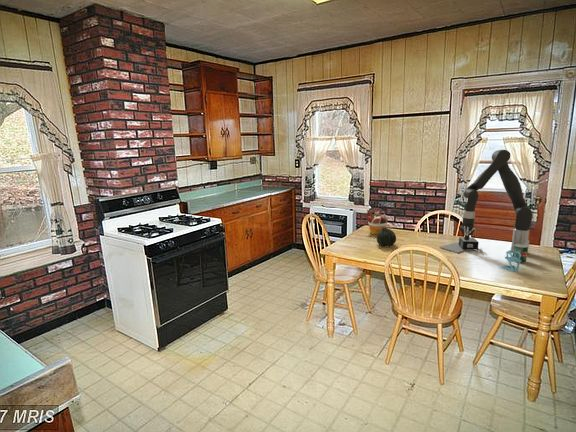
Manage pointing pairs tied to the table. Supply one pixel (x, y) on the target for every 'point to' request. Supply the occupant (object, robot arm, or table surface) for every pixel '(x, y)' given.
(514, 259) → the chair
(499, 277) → the table surface
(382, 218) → the bucket of meat
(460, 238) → the small box
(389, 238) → the squash
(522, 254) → the canned tomato
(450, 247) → the mat
